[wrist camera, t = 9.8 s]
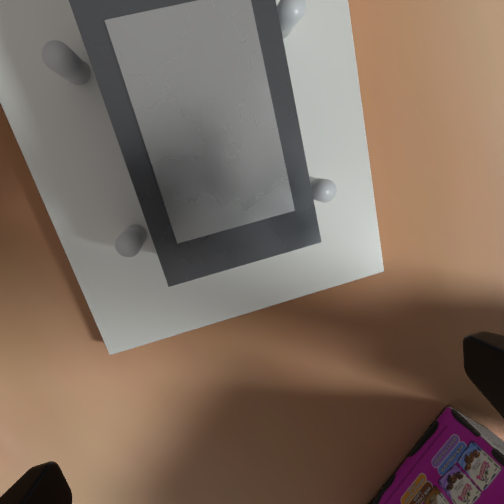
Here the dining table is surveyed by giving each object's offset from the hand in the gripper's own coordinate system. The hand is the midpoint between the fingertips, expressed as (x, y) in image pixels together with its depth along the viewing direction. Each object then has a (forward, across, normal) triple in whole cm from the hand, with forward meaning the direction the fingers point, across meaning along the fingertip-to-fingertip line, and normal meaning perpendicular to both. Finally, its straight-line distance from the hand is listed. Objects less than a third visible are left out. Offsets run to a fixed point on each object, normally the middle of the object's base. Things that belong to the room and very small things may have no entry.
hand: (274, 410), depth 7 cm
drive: (+10, 0, -6) cm, 12 cm away
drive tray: (+11, 0, -6) cm, 13 cm away
